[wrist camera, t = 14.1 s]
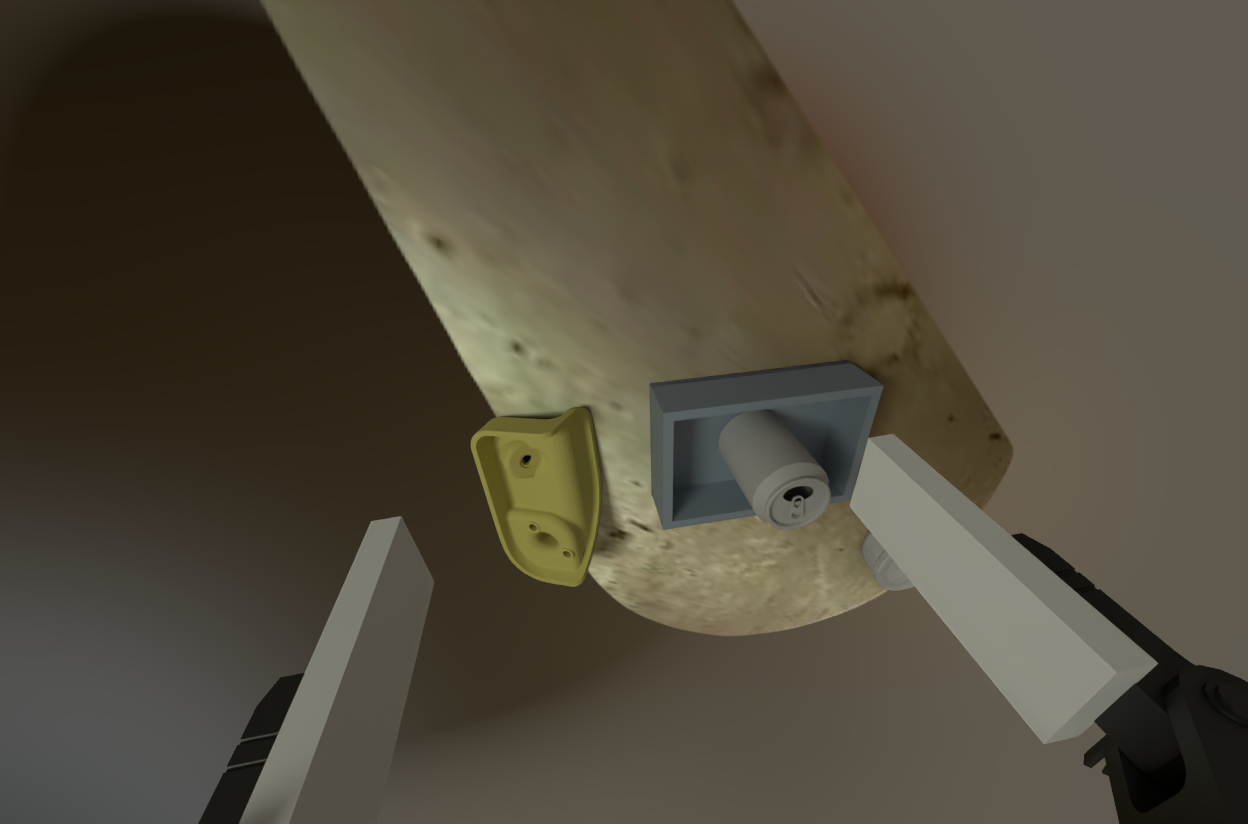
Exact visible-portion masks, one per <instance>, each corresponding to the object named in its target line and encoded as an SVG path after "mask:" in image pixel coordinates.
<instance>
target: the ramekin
mask: <svg viewBox="0 0 1248 824" xmlns="http://www.w3.org/2000/svg"><path fill="white" fill-rule="evenodd" d="M862 553H863V556H864V558H865V560H866V562H867V564H868V566H869V568H870V569H871V571H872V573H873V575H874V578H875V580H876V582H877V583H878V584H879V585H880V586H881V587H882V588H884V589H887V590H903V589H907V588H911V587H914V585H913V583H912V582H911V581H910V580H909V579H908V577H907V576H906V575H905V574H904V572H903V571H902V570H901V569H900V568H899V566H898V565H897V564H896V563H895V561H894V560H893V559H892V558H891V557H890V555H889V554H888V553H887V552H886V550H885V549H884V548H883V547H882V545H881V544H880V543H879V542H878V541H877V539H876V538H875V537H874V536H873V534H872V533H871V532H869V533H868V534H867V536H866V537H865V539H864V542H863V547H862Z"/></svg>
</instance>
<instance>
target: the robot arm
mask: <svg viewBox="0 0 1248 824" xmlns="http://www.w3.org/2000/svg"><path fill="white" fill-rule="evenodd" d="M850 508H851V509H852V510H853V511H854V512H855V514H856V515H857V516H858V517H859V519H860V520H861V521H862V522H863V523H864V525H865V526H866V527H867V528H868V530H869V531H870V532H871V533H872V534H873V536H874V537H875V538H876V539H877V541H878V542H879V543H880V544H881V545H882V547H883V548H884V549H885V550H886V552H887V553H888V554H889V555H890V557H891V558H892V559H893V560H894V561H895V563H896V564H897V565H898V566H899V568H900V569H901V570H902V571H903V572H904V574H905V575H906V576H907V577H908V579H909V580H910V581H911V582H912V583H913V585H914V586H915V587H916V588H917V589H918V591H919V592H920V593H921V594H922V596H923V597H924V598H925V599H926V601H927V602H928V603H929V604H930V605H931V607H932V608H933V609H934V610H935V611H936V613H937V614H938V615H939V616H940V617H941V619H942V620H943V621H944V623H945V624H946V625H947V626H948V627H949V629H950V630H951V631H952V632H953V633H954V635H955V636H956V637H957V638H958V639H959V641H960V642H961V643H962V645H963V646H964V647H965V648H966V649H967V651H968V652H969V653H970V654H971V656H972V657H973V658H974V659H975V661H976V662H977V663H978V664H979V665H980V667H981V668H982V669H983V670H984V672H985V673H986V674H987V675H988V676H989V678H990V679H991V680H992V681H993V683H994V684H995V685H996V686H997V687H998V689H999V690H1000V691H1001V692H1002V693H1003V695H1004V696H1005V697H1006V698H1007V700H1008V701H1009V702H1010V703H1011V705H1012V706H1013V707H1014V708H1015V709H1016V711H1017V712H1018V713H1019V714H1020V716H1021V717H1022V718H1023V719H1024V720H1025V722H1026V723H1027V724H1028V725H1029V727H1030V728H1031V729H1032V730H1033V731H1034V733H1035V734H1036V735H1037V736H1038V738H1039V739H1040V740H1041V741H1042V743H1043V744H1048V743H1051V742H1056V741H1060V740H1064V739H1069V738H1073V737H1077V736H1079V735H1080V734H1081V733H1083V732H1084V731H1085V730H1086V729H1087V728H1088V727H1089V726H1090V725H1091V724H1093V723H1094V722H1095V723H1097V725H1098V726H1099V727H1100V728H1101V729H1102V730H1103V731H1104V732H1105V733H1106V734H1107V735H1105V736H1104V737H1103V738H1102V739H1101V740H1100V741H1098V742H1097V743H1096V744H1095V745H1094V746H1093V747H1091V748H1090V749H1089V750H1088V751H1087V752H1086V753H1085V754H1084V765H1085V766H1088V767H1090V768H1092V767H1093V766H1094V765H1095V764H1097V763H1098V762H1099V761H1100V760H1102V759H1103V758H1104V757H1105V760H1106V766H1105V767H1104V769H1103V770H1102V773H1103V774H1105V775H1108V776H1109V778H1110V783H1111V788H1112V792H1113V797H1114V801H1115V806H1116V810H1117V815H1118V819H1119V824H1248V682H1246V681H1245V680H1243V679H1241V678H1238V677H1236V676H1234V675H1231V674H1229V673H1227V672H1225V671H1222V670H1219V669H1215V668H1211V667H1206V666H1202V665H1197V666H1196V665H1194V664H1192V663H1190V662H1189V661H1188V660H1186V659H1185V658H1184V657H1182V656H1181V655H1179V654H1178V653H1177V652H1175V651H1174V650H1173V649H1172V648H1171V647H1169V646H1168V645H1167V644H1166V643H1164V642H1163V641H1162V640H1161V639H1160V638H1158V637H1157V636H1156V635H1155V634H1153V633H1152V632H1151V631H1150V630H1149V629H1147V628H1146V627H1145V626H1144V625H1143V624H1141V623H1140V622H1139V621H1138V620H1137V619H1135V618H1134V617H1133V616H1132V615H1131V614H1129V613H1128V612H1127V611H1126V610H1124V609H1123V608H1122V607H1121V606H1120V605H1118V604H1117V603H1116V602H1115V601H1113V600H1112V599H1111V598H1110V597H1109V596H1107V595H1106V594H1105V593H1104V592H1102V591H1101V590H1100V589H1099V590H1097V589H1096V588H1095V586H1094V584H1093V583H1091V582H1090V581H1089V580H1088V579H1087V578H1086V577H1084V576H1083V575H1082V574H1081V573H1077V572H1075V570H1074V569H1075V568H1073V567H1072V566H1071V565H1070V564H1069V563H1067V562H1066V561H1065V560H1064V559H1062V558H1061V557H1060V556H1059V555H1058V554H1056V553H1055V552H1054V551H1053V550H1051V549H1050V548H1048V547H1046V546H1044V545H1043V544H1041V543H1039V542H1037V541H1035V540H1034V539H1032V538H1030V537H1028V536H1026V535H1024V534H1023V533H1021V534H1015V535H1010V534H1008V533H1007V532H1006V531H1005V530H1004V529H1002V528H1001V527H1000V526H999V525H998V524H997V523H996V522H994V521H993V520H992V519H991V518H990V517H988V516H987V515H986V514H985V513H984V512H983V511H982V510H981V509H979V508H978V507H977V506H976V505H975V504H974V503H973V502H971V501H970V500H969V499H968V498H967V497H966V496H964V495H963V494H962V493H961V492H960V491H959V490H957V489H956V488H955V487H954V486H953V485H952V484H951V483H949V482H948V481H947V480H946V479H945V478H944V477H942V476H941V475H940V474H939V473H938V472H937V471H936V470H934V469H933V468H932V467H931V466H930V465H929V464H927V463H926V462H925V461H924V460H923V459H922V458H920V457H919V456H918V455H917V454H916V453H915V452H914V451H912V450H911V449H910V448H909V447H908V446H907V445H905V444H904V443H903V442H902V441H901V440H900V439H899V438H897V437H896V436H895V435H894V434H889V435H883V436H877V437H871V438H868V441H867V445H866V449H865V452H864V456H863V460H862V463H861V467H860V471H859V474H858V478H857V482H856V485H855V489H854V493H853V496H852V500H851V504H850ZM433 585H434V580H433V578H432V576H431V574H430V572H429V570H428V568H427V567H426V565H425V562H424V560H423V558H422V556H421V555H420V553H419V551H418V549H417V547H416V545H415V543H414V541H413V539H412V537H411V535H410V533H409V531H408V529H407V527H406V525H405V523H404V521H403V519H402V517H394V518H389V519H384V520H377V521H371V523H370V525H369V528H368V530H367V532H366V535H365V537H364V539H363V541H362V544H361V546H360V548H359V551H358V553H357V555H356V557H355V560H354V562H353V564H352V567H351V569H350V571H349V573H348V576H347V578H346V580H345V583H344V585H343V587H342V590H341V592H340V594H339V596H338V598H337V601H336V603H335V605H334V608H333V610H332V612H331V615H330V617H329V619H328V621H327V624H326V626H325V628H324V630H323V633H322V635H321V638H320V640H319V642H318V644H317V646H316V649H315V651H314V653H313V656H312V658H311V660H310V662H309V665H308V667H307V669H306V672H305V673H302V674H296V675H291V676H286V677H281V678H280V679H279V680H278V681H277V682H276V684H275V685H274V686H273V687H272V689H271V690H270V691H269V692H268V693H267V695H266V696H265V697H264V698H263V699H262V701H261V702H260V703H259V704H258V706H257V707H256V709H255V711H254V713H253V715H252V717H251V719H250V721H249V723H248V725H247V727H246V729H245V731H244V733H243V735H242V737H241V743H240V745H238V746H237V747H236V749H235V751H234V753H233V755H232V757H231V759H230V761H229V763H228V765H227V767H228V769H227V771H226V772H225V773H223V775H222V777H221V779H220V781H219V783H218V785H217V787H216V789H215V791H214V793H213V796H212V797H211V800H210V801H209V804H208V805H207V808H206V809H205V811H204V814H203V816H202V818H201V820H200V822H199V824H376V823H377V818H378V814H379V810H380V806H381V802H382V797H383V794H384V789H385V785H386V781H387V777H388V773H389V769H390V764H391V760H392V756H393V752H394V748H395V744H396V739H397V735H398V731H399V727H400V723H401V719H402V714H403V710H404V706H405V702H406V697H407V694H408V689H409V685H410V681H411V677H412V673H413V668H414V664H415V660H416V656H417V652H418V648H419V643H420V639H421V635H422V631H423V627H424V623H425V618H426V614H427V610H428V606H429V602H430V598H431V593H432V589H433Z"/></svg>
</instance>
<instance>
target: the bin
mask: <svg viewBox="0 0 1248 824" xmlns="http://www.w3.org/2000/svg"><path fill="white" fill-rule="evenodd" d="M883 386H884V385H882V384H881V383H879V382H878V381H877V380H875V379H874V378H872V377H871V376H869V375H868V374H867V373H865V372H864V371H862V370H861V369H859V368H858V367H857V366H855V365H854V364H852V363H851V362H849V361H848V360H845V361H836V362H828V363H820V364H811V365H803V366H794V367H786V368H777V369H769V370H760V371H752V372H743V373H735V374H726V375H718V376H710V377H701V378H693V379H684V380H676V381H667V382H659V383H650V430H651V485H652V496H653V499H654V502H655V505H656V508H657V512H658V515H659V518H660V521H661V524H662V527H663V530H665V529H672V528H678V527H684V526H691V525H697V524H703V523H710V522H716V521H723V520H729V519H735V518H742V517H748V516H754V515H756V514H755V512H754V510H753V509H752V507H751V505H750V503H749V502H748V500H747V498H746V497H745V495H744V493H743V492H742V490H741V488H740V486H739V485H738V483H737V481H736V480H735V478H734V476H733V474H732V473H731V471H730V469H729V468H728V466H727V464H726V462H725V461H724V459H723V457H722V455H721V453H720V451H719V445H718V441H719V438H720V434H721V432H722V431H723V429H724V428H725V426H726V425H727V424H728V423H729V422H730V421H731V420H732V419H733V418H735V417H736V416H738V415H740V414H742V413H744V412H749V411H757V410H767V411H769V412H771V413H774V414H775V415H776V416H777V417H778V418H779V419H780V420H781V422H782V423H783V424H784V425H785V426H786V427H787V428H788V430H789V431H790V432H791V433H792V434H793V435H794V436H795V438H796V439H797V440H798V441H799V442H800V443H801V444H802V446H803V447H804V448H805V449H806V450H807V451H808V452H809V454H810V455H811V456H812V457H813V458H814V459H815V461H816V462H817V463H818V464H819V465H820V466H821V467H822V469H823V470H824V471H825V472H826V474H827V477H828V480H829V484H828V486H829V489H830V492H831V497H830V502H829V504H831V503H837V502H844V501H850V498H851V495H852V492H853V488H854V485H855V481H856V478H857V475H858V471H859V468H860V464H861V461H862V458H863V454H864V451H865V447H866V444H867V441H868V437H869V434H870V431H871V427H872V424H873V420H874V417H875V414H876V410H877V407H878V403H879V400H880V397H881V393H882V390H883Z"/></svg>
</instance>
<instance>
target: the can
mask: <svg viewBox="0 0 1248 824" xmlns="http://www.w3.org/2000/svg"><path fill="white" fill-rule="evenodd" d="M718 445H719V451H720V453H721V455H722V457H723V459H724V461H725V462H726V464H727V466H728V468H729V469H730V471H731V473H732V474H733V476H734V478H735V480H736V481H737V483H738V485H739V486H740V488H741V490H742V492H743V493H744V495H745V497H746V498H747V500H748V502H749V503H750V505H751V507H752V509H753V510H754V512H755V514H756V515H757V516H758V517H759V518H760V519H762V520H763V521H766V522H768V523H769V524H771V525H772V526H773V527H775V528H778V529H781V530H793V529H797V528H801V527H804V526H806V525H808V524H810V523H812V522H813V521H814V520H816V519H817V518H819V517H820V516H821V514H822V513H823V512H824V511H825V510H826V508H827V506H828V504H829V502H830V497H831V492H830V489H829V486H828V484H829V480H828V477H827V474H826V472H825V471H824V470H823V469H822V467H821V466H820V465H819V464H818V463H817V462H816V461H815V459H814V458H813V457H812V456H811V455H810V454H809V452H808V451H807V450H806V449H805V448H804V447H803V446H802V444H801V443H800V442H799V441H798V440H797V439H796V438H795V436H794V435H793V434H792V433H791V432H790V431H789V430H788V428H787V427H786V426H785V425H784V424H783V423H782V422H781V420H780V419H779V418H778V417H777V416H776V415H775V414H774V413H771V412H769V411H767V410H757V411H749V412H744V413H742V414H740V415H738V416H736V417H735V418H733V419H732V420H731V421H730V422H729V423H728V424H727V425H726V426H725V428H724V429H723V431H722V432H721V434H720V438H719V441H718Z"/></svg>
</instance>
